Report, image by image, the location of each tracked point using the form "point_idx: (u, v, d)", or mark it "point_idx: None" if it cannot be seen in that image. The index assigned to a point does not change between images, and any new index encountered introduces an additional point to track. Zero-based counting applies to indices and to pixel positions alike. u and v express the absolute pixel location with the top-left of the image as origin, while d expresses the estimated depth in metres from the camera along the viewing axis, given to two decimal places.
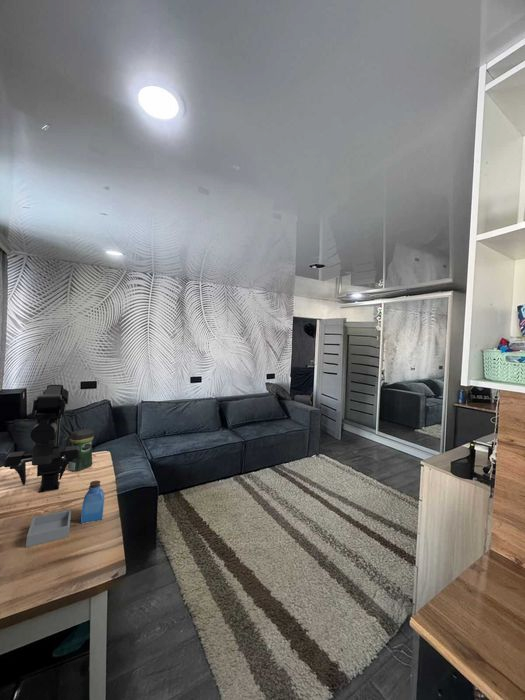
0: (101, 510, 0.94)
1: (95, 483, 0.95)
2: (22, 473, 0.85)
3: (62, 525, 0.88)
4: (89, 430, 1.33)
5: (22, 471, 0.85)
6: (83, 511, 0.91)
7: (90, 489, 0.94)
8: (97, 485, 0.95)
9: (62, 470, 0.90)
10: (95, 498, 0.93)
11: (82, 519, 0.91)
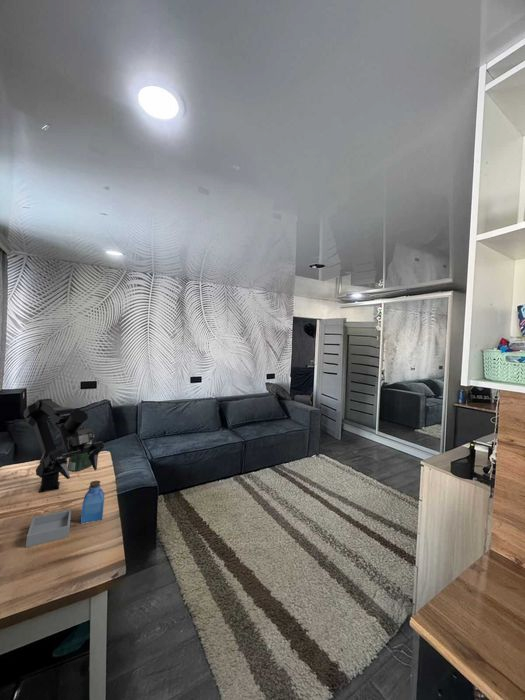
0: (101, 510, 0.94)
1: (95, 483, 0.95)
2: (65, 466, 0.96)
3: (62, 525, 0.88)
4: (89, 430, 1.33)
5: (65, 464, 0.96)
6: (83, 511, 0.91)
7: (90, 489, 0.94)
8: (97, 485, 0.95)
9: (95, 460, 1.04)
10: (95, 498, 0.93)
11: (82, 519, 0.91)
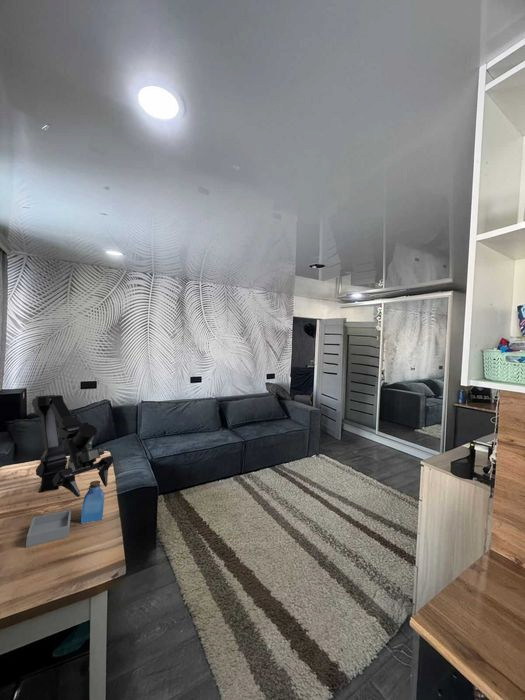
0: (101, 510, 0.94)
1: (95, 483, 0.95)
2: (75, 483, 0.92)
3: (62, 525, 0.88)
4: None
5: (74, 481, 0.93)
6: (83, 511, 0.91)
7: (90, 489, 0.94)
8: (97, 485, 0.95)
9: (106, 475, 1.01)
10: (95, 498, 0.93)
11: (82, 519, 0.91)
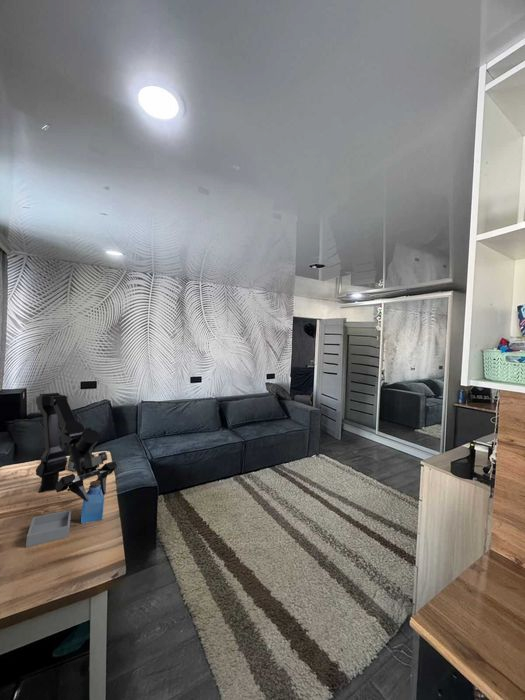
0: (101, 510, 0.94)
1: (95, 483, 0.95)
2: (83, 488, 0.93)
3: (62, 525, 0.88)
4: None
5: (83, 486, 0.93)
6: (83, 511, 0.91)
7: (90, 489, 0.94)
8: (97, 485, 0.95)
9: (104, 483, 0.98)
10: (95, 498, 0.93)
11: (82, 519, 0.91)
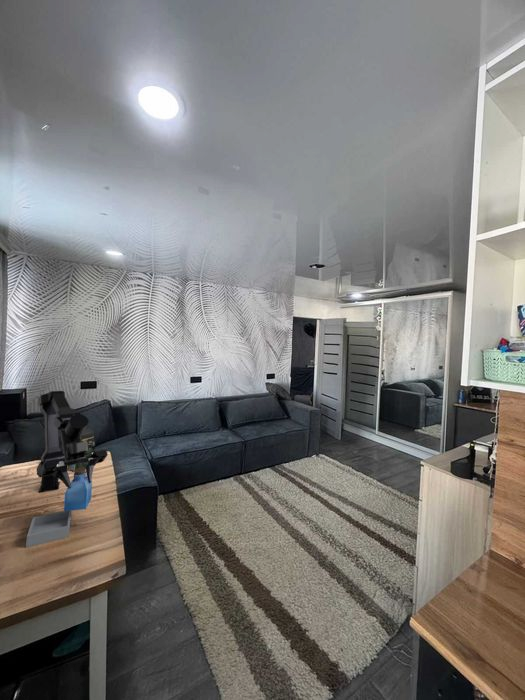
0: (85, 499, 0.89)
1: (79, 470, 0.91)
2: (67, 474, 0.89)
3: (62, 525, 0.88)
4: (89, 430, 1.33)
5: (67, 472, 0.89)
6: (66, 498, 0.87)
7: (74, 476, 0.90)
8: (81, 472, 0.90)
9: (90, 471, 0.94)
10: (79, 486, 0.89)
11: (65, 507, 0.87)
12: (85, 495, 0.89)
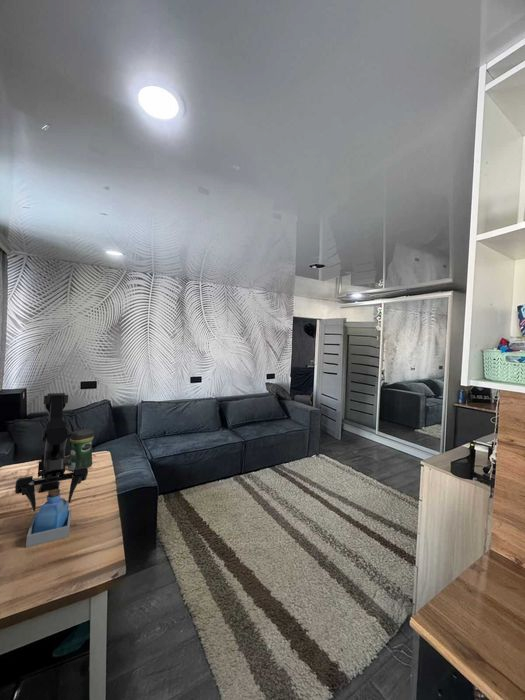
0: (55, 524, 0.84)
1: (53, 492, 0.86)
2: (33, 495, 0.84)
3: None
4: (89, 430, 1.33)
5: (33, 493, 0.84)
6: (36, 522, 0.83)
7: (47, 498, 0.85)
8: (54, 495, 0.85)
9: (71, 490, 0.89)
10: (50, 510, 0.84)
11: (35, 531, 0.83)
12: (55, 520, 0.84)
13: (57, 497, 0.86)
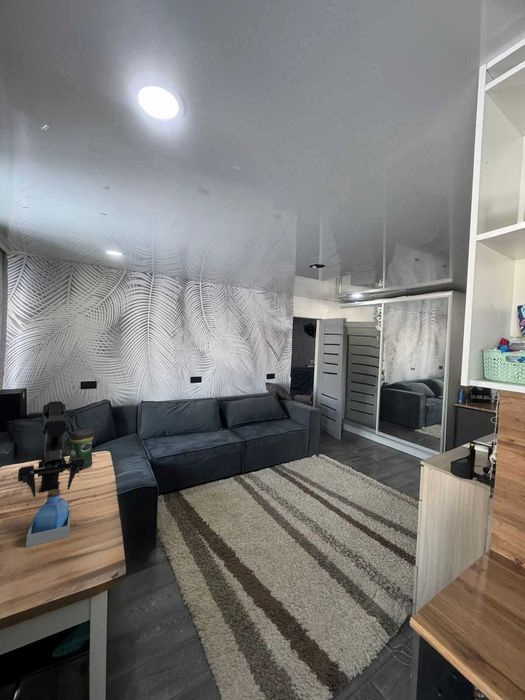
0: (55, 524, 0.84)
1: (53, 492, 0.86)
2: (33, 482, 0.91)
3: None
4: (89, 430, 1.33)
5: (33, 480, 0.91)
6: (36, 522, 0.83)
7: (47, 498, 0.85)
8: (54, 495, 0.85)
9: (70, 478, 0.97)
10: (50, 510, 0.84)
11: (35, 531, 0.83)
12: (55, 520, 0.84)
13: (57, 497, 0.86)
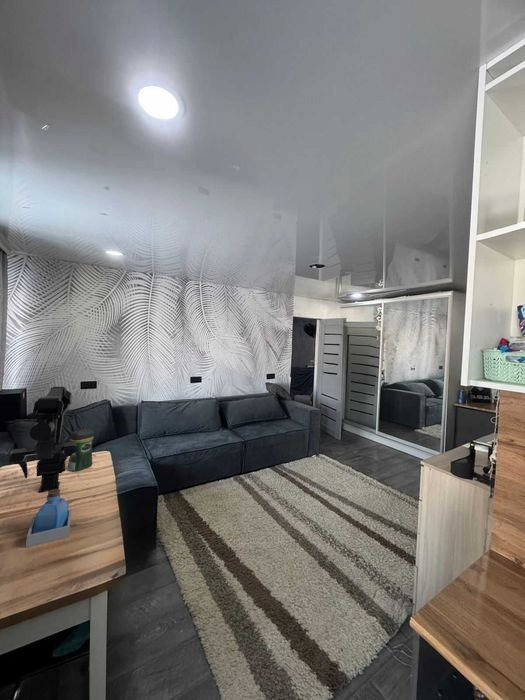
0: (55, 524, 0.84)
1: (53, 492, 0.86)
2: (25, 467, 0.94)
3: None
4: (89, 430, 1.33)
5: (25, 466, 0.94)
6: (36, 522, 0.83)
7: (47, 498, 0.85)
8: (54, 495, 0.85)
9: (61, 464, 1.00)
10: (50, 510, 0.84)
11: (35, 531, 0.83)
12: (55, 520, 0.84)
13: (57, 497, 0.86)
